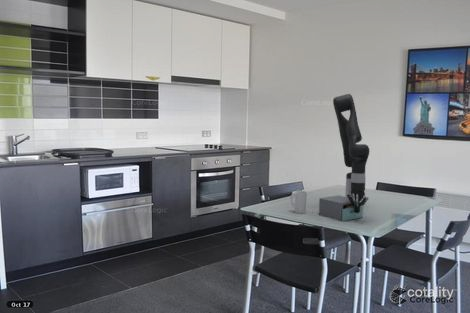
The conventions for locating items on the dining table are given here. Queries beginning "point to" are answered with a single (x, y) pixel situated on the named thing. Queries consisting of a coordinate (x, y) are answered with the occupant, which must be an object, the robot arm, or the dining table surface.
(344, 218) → the teal drawer
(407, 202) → the dining table surface
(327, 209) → the grey drawer box
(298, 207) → the mug
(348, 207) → the walnut block
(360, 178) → the robot arm
